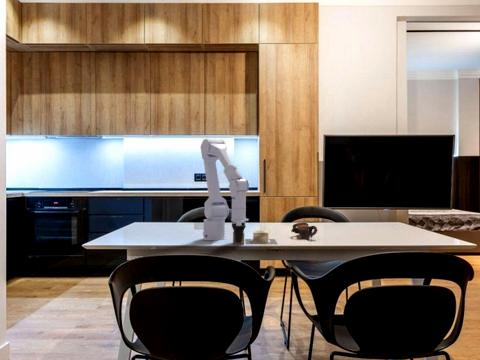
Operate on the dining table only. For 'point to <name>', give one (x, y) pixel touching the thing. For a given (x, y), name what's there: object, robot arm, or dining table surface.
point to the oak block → (260, 236)
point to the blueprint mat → (250, 241)
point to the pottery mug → (304, 230)
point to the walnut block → (238, 242)
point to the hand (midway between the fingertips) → (238, 241)
